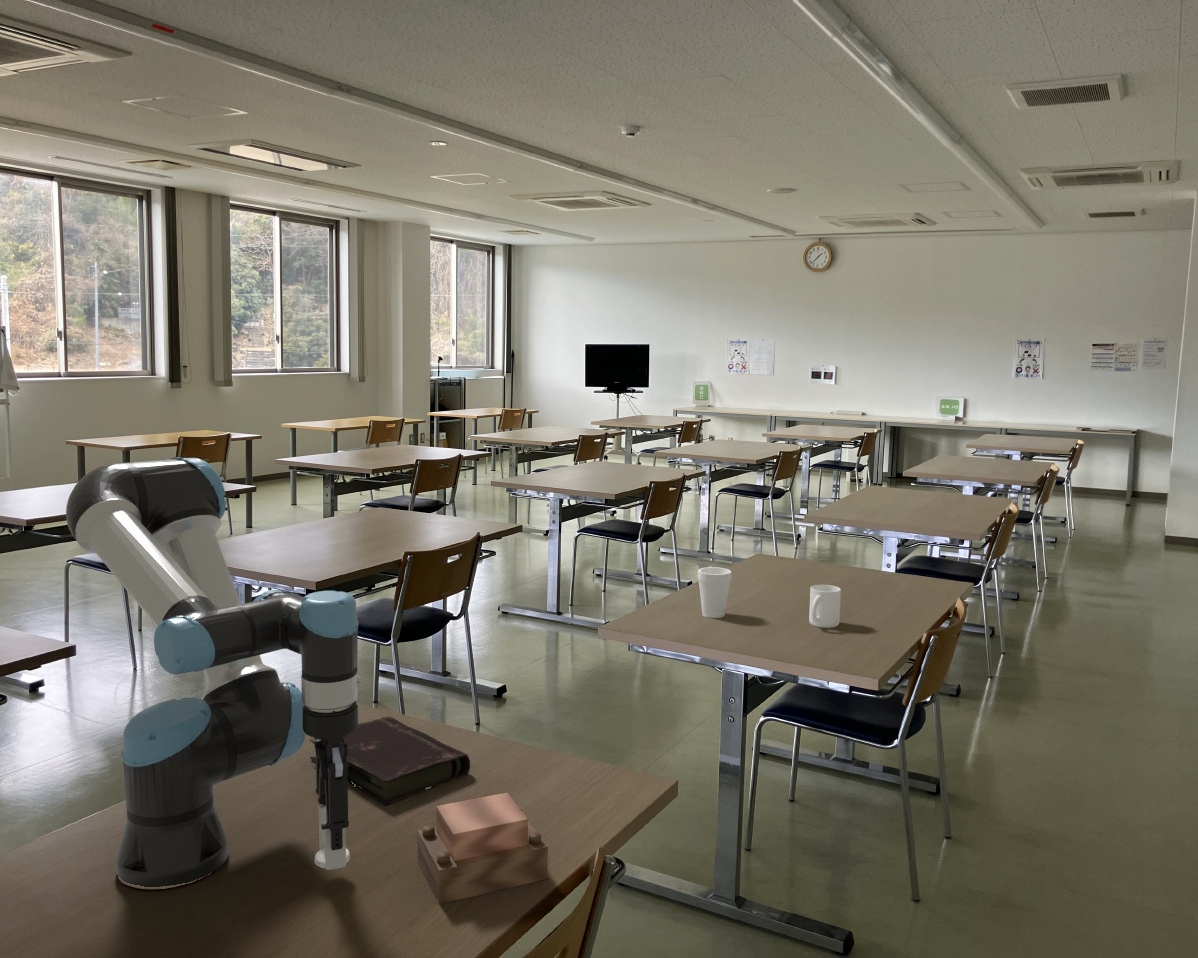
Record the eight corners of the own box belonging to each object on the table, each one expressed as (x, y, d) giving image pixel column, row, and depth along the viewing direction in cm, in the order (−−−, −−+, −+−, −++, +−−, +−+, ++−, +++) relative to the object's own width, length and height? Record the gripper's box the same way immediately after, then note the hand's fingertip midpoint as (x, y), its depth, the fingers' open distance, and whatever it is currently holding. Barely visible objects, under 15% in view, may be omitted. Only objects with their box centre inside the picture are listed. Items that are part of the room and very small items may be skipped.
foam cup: (695, 618, 274) (697, 573, 272) (698, 609, 283) (699, 566, 281) (729, 620, 272) (730, 575, 270) (730, 611, 281) (731, 568, 279)
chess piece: (336, 846, 142) (335, 782, 140) (357, 858, 139) (356, 793, 137) (307, 859, 138) (306, 794, 136) (328, 872, 135) (327, 805, 133)
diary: (392, 737, 190) (392, 712, 190) (470, 777, 173) (470, 750, 172) (305, 763, 177) (305, 737, 177) (381, 810, 160) (380, 781, 159)
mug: (825, 633, 261) (827, 596, 260) (797, 627, 266) (799, 591, 265) (844, 623, 270) (845, 587, 269) (816, 618, 275) (818, 583, 274)
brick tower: (439, 904, 132) (438, 842, 131) (417, 861, 143) (416, 804, 142) (547, 878, 139) (547, 820, 138) (519, 839, 150) (519, 785, 149)
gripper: (370, 723, 128) (371, 884, 132) (346, 677, 144) (347, 822, 148) (312, 731, 125) (314, 896, 129) (293, 684, 141) (296, 832, 145)
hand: (332, 856), depth 138 cm, fingers closed on chess piece, 5 cm apart
